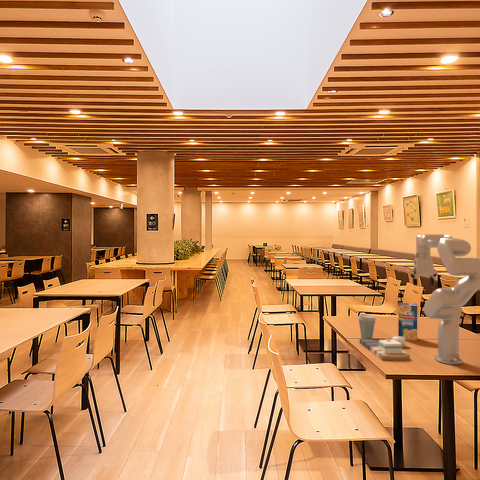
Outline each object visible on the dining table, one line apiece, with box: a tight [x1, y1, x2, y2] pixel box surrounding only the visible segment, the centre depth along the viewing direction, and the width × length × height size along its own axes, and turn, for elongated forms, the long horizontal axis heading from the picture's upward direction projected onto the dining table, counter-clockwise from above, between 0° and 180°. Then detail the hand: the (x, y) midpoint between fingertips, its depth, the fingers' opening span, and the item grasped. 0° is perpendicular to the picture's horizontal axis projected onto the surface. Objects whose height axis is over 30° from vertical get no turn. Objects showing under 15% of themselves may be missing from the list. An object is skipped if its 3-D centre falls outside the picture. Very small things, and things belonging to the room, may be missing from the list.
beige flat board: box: [359, 338, 411, 361], centre depth 211 cm, size 32×15×2 cm, turn 2°
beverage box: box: [397, 302, 418, 342], centre depth 236 cm, size 7×11×22 cm, turn 66°
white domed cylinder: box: [391, 335, 406, 348], centre depth 221 cm, size 7×7×5 cm
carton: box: [379, 339, 403, 353], centre depth 202 cm, size 8×9×6 cm
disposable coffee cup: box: [357, 313, 376, 339], centre depth 236 cm, size 11×11×15 cm
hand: (423, 285), depth 217 cm, fingers open, 9 cm apart
